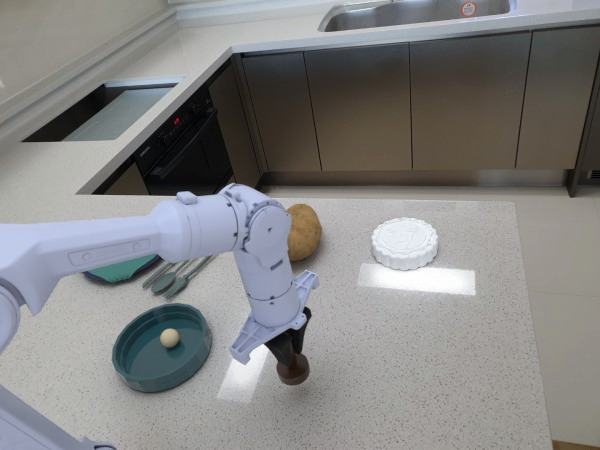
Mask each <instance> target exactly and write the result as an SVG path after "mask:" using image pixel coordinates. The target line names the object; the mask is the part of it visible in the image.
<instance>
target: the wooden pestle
mask: <svg viewBox="0 0 600 450" xmlns="http://www.w3.org/2000/svg"><path fill="white" fill-rule="evenodd" d="M284 333H286V334H288V335H290V332H289V330H288V329H287V330H286V331H284ZM290 336H291V335H290ZM290 351H291V356H292V364H291V365H290V366H289V367H287V366H285V365H284V364H282V363H280V362H278V361H277V362H276V366H275V367H276V368H275V369H276V373H277V375H278V376H277V377H278V379H279V381H280V382H281V383H283V384H284V385H287V386H290V387H291V386H292V387H294V386H299V385H301V384H303V383H305V382H306V380H307V379H308V378H309V377H310V373H311V366H310V363H309V360H308V358H307V356H306V355H305V354H304V353H303V352H301V354H300V355H298V354H296V353H295V350H294V346H293V343H292V340H291V344H290Z"/></svg>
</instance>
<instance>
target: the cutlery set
mask: <svg viewBox="0 0 600 450" xmlns="http://www.w3.org/2000/svg"><path fill="white" fill-rule="evenodd" d="M212 257H214V255H211V256H206V257H203V259H202V260H201V261H200V262H199V263H198V264H196V266H195V267H193V268H192V269H191V270H190V271H189V272H187V273H186V274H183V275H182V276H181V277H180V276H179V277H178V278H177V280H176V281H175V277H176V274H178V272H179V271H180V270H181V269H183V267H185V266H186V265H187V263H189V262H190V261H191V260H186V261H182V263H181V264H179V266H178V268H176V270H174V271H170V272H167V273H165V274H163V275H162V276H160V277H159V278H157V277H158V276H159V275H160V274H162V273H163V272H164V271H165V270H166V269H168V267H170V266H174V263H170V262H167V263H165V264H164V265H163V266H162V267H160V268H159V269H157V270H156V271H155V272H154V273H153V274H152V275H151V276H149V278H147V279H146V280H145V281H144V282H143V283H142V286H141V288H142V289H144V288H146V287H147V286H148V285H149V284H150V283H151V282H152V281H153V280H155V279H156V278H157V279H156V280H155V281H154V283H152V285H151V287H150V292H152V293H157V292H160V291H162V290H165V289H166V288H168V287H169V286H170V285H171V284H172V283H173V282H174V281H175V282H174V284H173V285H172V286H171V287H170V288H169V289H168V290H167V291H166V292H165V293H164V294H163V295H162V298H164V299H167V300H169V299H170V298H172V297H173V296H174V295H175V294H176V293H178V291H180V290H181V289H183V288H184V287H185V286H186V285H187V284H188V282H189V280H190V279H189V278H190V277H192V275H194V274H195V273H196V272H198V271H199V270H200V269H201V268H202V267H203V266H205V264H206V263H208V262H209V260H210V259H211V258H212ZM160 258H161V257H160V256H159V255H158V254H152V255H148V256H144V257H140V258H136V259H132V260H128V261H124V262H120V263H116V264H112V265H108V266H104V267H100V268H97V269H93V270H89V271H85V272H81V273H82V274H83V275H84V276H85V277H87V278H89V279H92V280H96V281H98V282H99V281H106V282H109V283H117V282H120V281H125V280H127V279H129V280H130V279H131V277H132V276H133V275H134V274H137V273H138V272H141V271H143V270H145V269H146V268H148V267H149V266H152V265H153V263H155V262H157V261H158V260H159V259H160Z"/></svg>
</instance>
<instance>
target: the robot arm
mask: <svg viewBox="0 0 600 450" xmlns="http://www.w3.org/2000/svg"><path fill="white" fill-rule="evenodd" d="M291 222H292V218H291V214H289V215H288V213H286V209H285V207H284V205H283V204H282V203H281V202H280V201H278V200H276V199H274V198H272V197H270V196H268V195H266V194H264V193H262V192H261V191H258V190H257V189H255V188H253V187H250V186H248V185H245V184H242V183H241V184H240V183H235V182H232V183H230V184H228V185H226V186H225V187H223V188H222V189H221V190H219V191H218V193H216V194H209V195H200V196H199V195H198V196H197V195H195V194H194V193H192V192H191V191H188V190H187V191H178V192H177V193H176V198H171V199H162V200H160V201H159V202H158V203H157V204H156V205H155V206H154V207H153V209H152V210H151V211H150V213H148V214H146V215H134V216H119V217H107V218H105V217H103V218H91V219H79V220H77V219H76V220H64V221H49V222H39V223H38V222H37V223H35V222H34V223H2V222H0V357H1V356H2V354H3V353H4V352H5V350H6V349H8V346H9V345H10V344H11V342H12V341H13V339H14V337H15V336H16V334H17V332H18V329H19V327H20V324H21V307H23V306H24V305H26V306H27V308H28V309H29V311H30V313H31V315H32V316H33V317H37V315H39V314H40V313H41V312H42V310H43V308H44V307H45V305H46V303H47V302H48V300H49V299H50V297H51V295H52V293H53V292H54V291H55V289H56V287H57V286H58V284H59V282H60V281H61V280H62V279H63V278H66V277H68V276H74V275H76V274H81V273H82V272H85V271H89V270H93V269H97V268H100V267H104V266H108V265H112V264H116V263H120V262H124V261H128V260H132V259H136V258H140V257H144V256H148V255H152V254H158V255H159V256H160V258H161V259H163V260H164V261H165V262H167V263H169V262H170V263H173V264H176V263H181V262H182V263H183V262H184V261H186V260H190V261H191V260H197V259H201V258H205V257H206V256H211V255H213V256H215V255H219V254H224V253H230V252H232V254H233V257H234V262H235V264H236V267H237V270H238V273H239V276H240V279H241V282H242V285H243V288H244V292H245V294H246V298H247V300H248V304H249V307H250V312H249V314H248V316H247V317H246V319H245V321H244V323H243V325H242V327H241V329H240V331H239V333H238V335H237V337H236V338H235V340H234V342H232V344H231V345H229V346H228V349H229V352H230V354H231V356H232V359H234V360H235V361H237V362H238V363H240V364H242V365H243V366H247V365H248V363H249V362H250V361H251V356H250V354H251V353H253V351H255V350H256V349H257V348H259V347H261V346H262V345H264V346H265V347H266V348H267V350H269V351H270V353H272V355H273V356H274V358H275V359H276V361H277V362H280V363H282V364H284V365H285V366H287V367H289V366H290V365H291V364H292V356H291V351H290V344H291V340H292V343H293V346H294V350H295V353H296V354H298V355H300V354H301V353H303V347H304V339H305V334H306V330H307V327H308V325H309V322H310V320H311V318H312V317H313V315H312V310H311V309H310V308H309V307H308V306H306V304H307V302H308V300H309V297H310V294H311V291H312V290H316V289H318V288H319V287H320V279H319V274H318V273H315V272H313V271H311V270H309V269H305V270H304V271H303V272H302V273H300V274H299V275H297V276H296V277H294V274H293V269H292V266H291V261H289V257H288V252H287V251H288V250H289V249H288V245H287V238H288V235H289V232H290V229H291ZM287 329H288V330H289V332H290V335H291V336H290V335H288V334H286V333H284V331H286V330H287ZM0 450H118V448H117V447H116V446H115V445H114V444H113V443H112V442H109V441H94V440H92V439H90V438H89V437H88V436H86V435H83V436H81V437H79V438H76V437H74V436H73V435H72V434H70V433H69V432H67V431H65V430H64V429H63V428H62V427H60V426H59V425H57V424H56V423H55V422H53V421H52V420H50V419H49V418H48V417H46V416H45V415H44V414H43V413H41V412H39V411H38V410H37V409H35V408H33V407H32V406H31V405H29V403H27V402H26V401H24V400H23V399H21V398H20V397H19V396H17V395H16V394H14V393H13V392H12V391H10V390H9V389H8V388H6V387H4V386H3V385H2V384H0Z"/></svg>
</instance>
